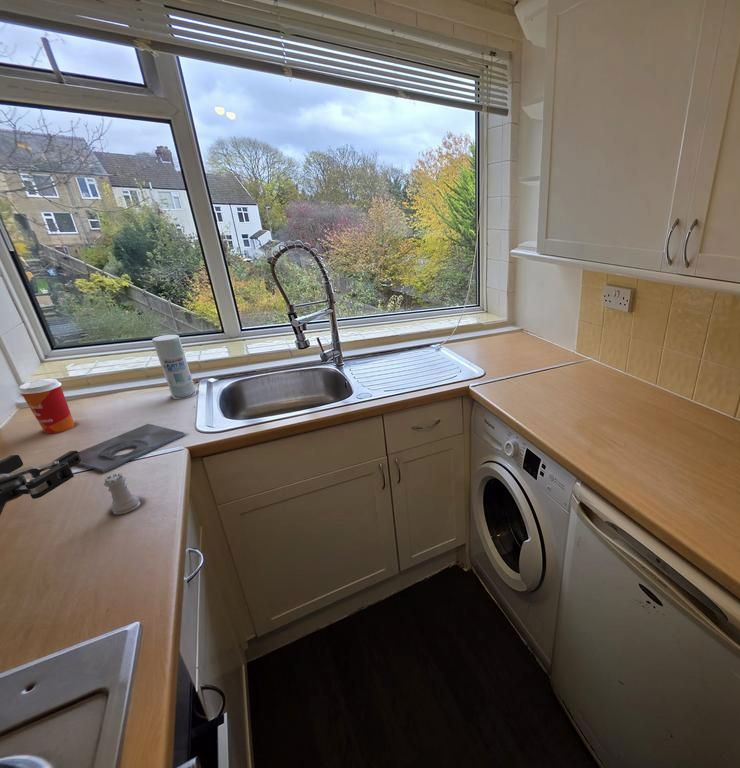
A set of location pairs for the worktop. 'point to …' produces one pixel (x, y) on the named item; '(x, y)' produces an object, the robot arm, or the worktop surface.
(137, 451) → the plate
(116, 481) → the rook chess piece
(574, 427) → the worktop surface
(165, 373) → the spray can
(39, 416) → the paper cup
